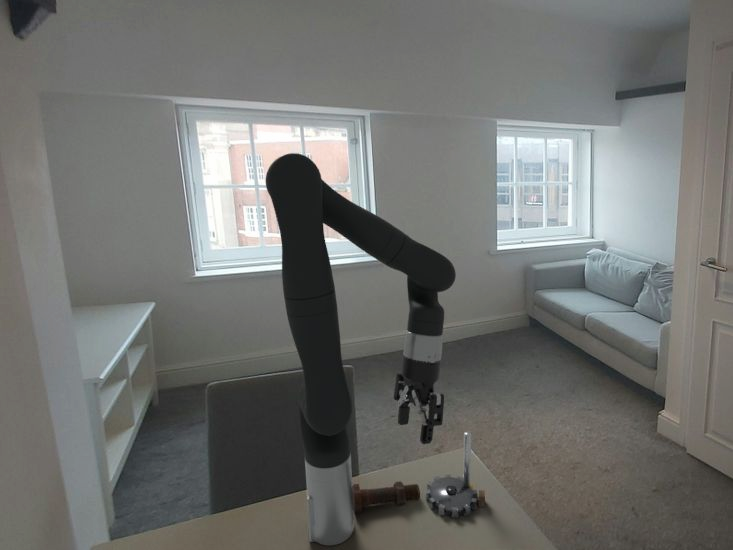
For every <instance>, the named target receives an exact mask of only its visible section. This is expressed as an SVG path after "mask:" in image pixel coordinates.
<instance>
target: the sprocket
mask: <svg viewBox="0 0 733 550" xmlns="http://www.w3.org/2000/svg"><path fill="white" fill-rule="evenodd" d="M471 461H472V432H471V431H464V432H463V467H462V468H463V473H462V475H463V477H462V476H457V477H452V475H451V474H445V476H444V477H440V476H439V475H437V476H435V477H433V478H434V479H433V481H428V482H427V484H426V486H427V487H426V489H425V499H426V501H428V506H429V507H430V509H432V510H434V509H436V510H438V514H439V515H440V516H443V517H444V516H445V515H446V514H447V515H451V517H452V519H453V518H455V519H456V518H459V515H464V516H465V517H468V516H469V515H471V509H472V510H476V509H477V506H478V492H477V491H478V490H477V489H474V485H473V483H472V482H471V472H472V471H471V469H472V465H471V463H472V462H471Z"/></svg>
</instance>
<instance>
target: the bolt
mask: <svg viewBox="0 0 733 550" xmlns="http://www.w3.org/2000/svg"><path fill="white" fill-rule="evenodd" d="M352 493H353V513H355V514H360V513H362V509H363V507H364V508H365V507H369V506H376V505H383V504H384V505H385V504H391V503H392V504H393V503H395V505H396V506H397V507H402V506H405V505H406V502H408V501H419V499H421V490H420V487H419V485H418V484H417V483H413V484H404V483H403V482H402V481H401V480H400V481H395V482H394V483H393V486H387V487H386V486H385V487H376V488H368V489H367V488H363V489H362V488H360V483H355V484H352Z"/></svg>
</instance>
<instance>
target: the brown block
mask: <svg viewBox="0 0 733 550" xmlns="http://www.w3.org/2000/svg"><path fill="white" fill-rule="evenodd" d="M485 492H486V491H485V490H482V489H479V490H478V506H479V507H482V508H483V507H485V506H486V497H485V496H486V493H485Z"/></svg>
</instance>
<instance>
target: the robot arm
mask: <svg viewBox="0 0 733 550" xmlns="http://www.w3.org/2000/svg"><path fill="white" fill-rule="evenodd" d="M265 188H266V191H267V193H268V196H269V197H270V199H271V203H272V206H273V209H274V213H275V217H276V221H277V225H278V229H279V234H280V240H281V277H282V278H281V279H282V280H281V281H282V291H283V298H284V303H285V311H286V315H287V316H286V317H287V320H288V326H289V329H290V333H291V335H292V339H293V341H294V342H293V343H294V346H295V348H296V351H297V354H298V357H299V359H300V363H301V366H302V367H301V368H302V372H303V381H304V382H303V383H302V385H301V387H300V388H299V391H298V412H299V423H300V424H299V425H300V434H301V436H300V437H301V441H302V447H303V452H304V453H303V454H304V466H305V481H306V482H305V483H306V506H307V507H306V509H307V511H306V512H307V525H308V535H309V543H310V542H311V543H313V542H314V543H315V542H316V543H318V544H320V545H322V546H336V545H339V544H342V543H344V542H346V541H347V540H349V538H350V537H351V536H352V534H353V532H354V529H355V515H354V510H353V493H352V486H353V475H352V454H351V451H352V450H351V440H350V436H349V433H348V429H347V425H348V424H349V422H350V419H351V418H352V412H353V403H352V397H351V395H350V390H349V387H348V383H347V379H346V374H345V370H344V365H343V360H342V359H343V358H342V346H341V334H340V333H341V332H340V322H339V312H338V303H337V295H336V286H335V281H334V277H333V271H332V270H333V269H332V265H331V261H330V256H329V252H328V251H329V250H328V248H327V243H326V239H325V237H326V236H325V231H324V228H325V227H324V225H326V226H327V227H329V228H331V229H332V230H333V231H335V232H336V233H338V234H339V235H341V236H342V237H344V239H346V240H348V241H350V242H351V243H352V244H353V245H355V246H356V247H358V248H359V249H360V250H362V251H363V252H365V253H366V254H368V255H369V256H370V257H372V258H373V259H376V260H377V261H378V262H380V263H381V264H383V265H385V266H387V267H389V268H390V269H392V270H395V271H398V272H401V273H403V274H405V275H406V287H407V299H408V305H409V310H408V317H407V318H408V319H407V328H406V334H405V338H404V344H403V345H404V346H403V353H402V363H401V372H397V373H396V377H395V384H394V392H393V399H394V401H397V406H398V412H397V413H398V415H397V416H398V417H397V424H398V425H400V426H403V425H405V426H407V425H408V424H409V420H410V409H411V407H410V406H411V404H413V405H414V406H415V407H416V411H417V413H418V414H419V415H420V419H421V422H422V424H421V427H420V428H421V430H420V436H419V437H420V438H419V441H420V443H421V444H422V445H426V444H427V445H428V444H431V443H432V441H433V436H434V428H435V427H437V426H438V427H439V426H442V425H443V419H444V418H443V417H444V405H445V395H444V394H443V393H437V392H435V389H434V385H435V383H436V382H438V381H439V379H440V371H441V362H442V361H441V360H442V353H443V332H444V323H445V309H444V307H443V306H442V305H441V304H440V302H439V293H442V292H445V291H447V290H449V289H450V288H451V287H452V286H453V284H454V283H455V281H456V276H457V275H456V268H455V266H454V265H453V262H451V260H450V259H448V257H446V256H444V255H443V254H442V253H440V252H438V251H436V250H435V249H432V248H430V247H428V246H427V245H425V244H423V243H420V242H419V241H416V240H414V239H413V238H412V237H410V236H409V235H408V234H406V233H405V232H404V231H402V230H400V229H399V228H397V227H396V226H395V225H393V224H391V223H390V222H388V220H385V219H384V218H382V217H380V216H379V215H377V214H374V213H373V212H371V211H369V210H367V209H365V208H363V207H362V206H360V205H358V204H356V203H354V202H353V201H351V200H349V199H347V198H346V197H345V196H344V195H342V194H340V193H339V192H338V191H336V190H335V189H334V188H332V186H330V185H329V184H328V183H327V182H326V181H324V180H323V178H322V174H321V172H320V169H319V168H318V166H317V164H316V163H315V162H314V161H313V160H312V159H311V158H310V157H308V156H307V155H304V154H302V153H297V152H288V153H285V154H282V155H280V156H278V157H277V158H276V159H274V161H272V163H271V164H270V166H269V167H268V169H267V172H266V175H265ZM400 391H401V393H400ZM426 406H428V407H426ZM427 414H428V416H427Z"/></svg>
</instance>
